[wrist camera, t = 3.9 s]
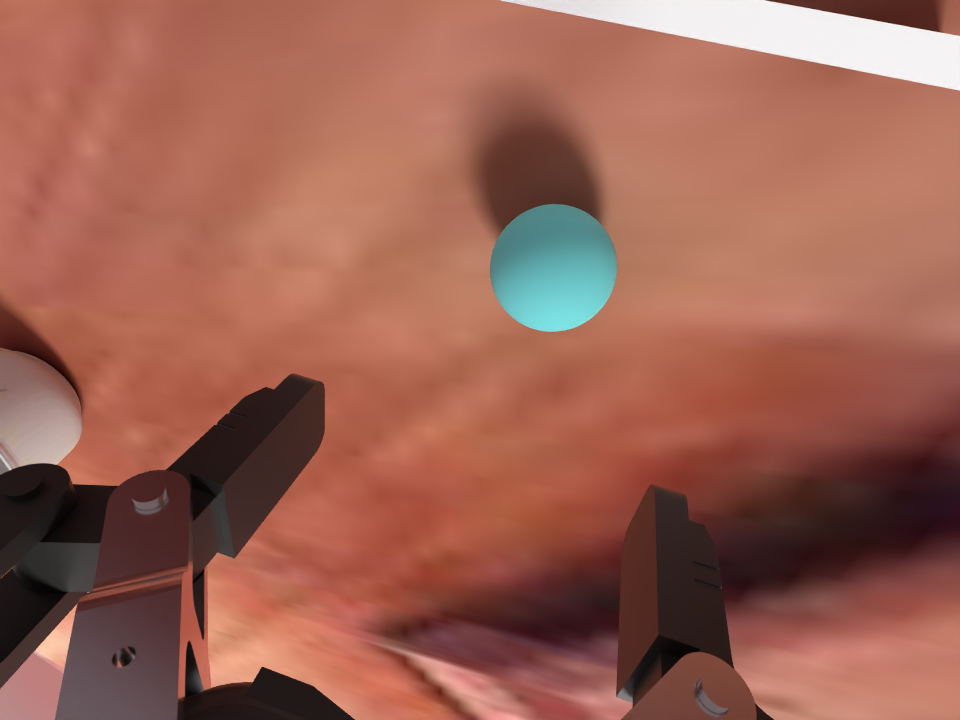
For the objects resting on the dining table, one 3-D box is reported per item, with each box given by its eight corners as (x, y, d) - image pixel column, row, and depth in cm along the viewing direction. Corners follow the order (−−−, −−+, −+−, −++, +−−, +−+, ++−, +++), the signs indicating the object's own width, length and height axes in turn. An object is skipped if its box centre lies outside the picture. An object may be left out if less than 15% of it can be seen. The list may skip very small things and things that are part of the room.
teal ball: (644, 247, 25) (644, 297, 20) (561, 320, 28) (545, 377, 23) (559, 163, 24) (539, 195, 19) (482, 248, 27) (449, 292, 22)
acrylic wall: (941, 44, 18) (1026, 48, 14) (919, 82, 19) (995, 97, 15) (355, -66, 21) (285, -88, 17) (353, -29, 22) (286, -43, 18)
